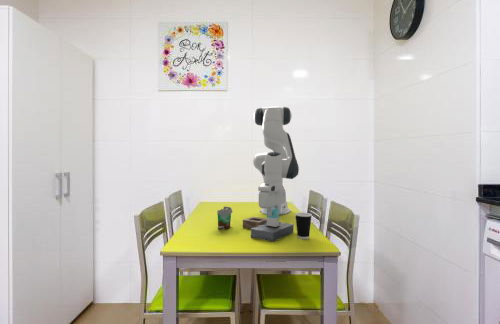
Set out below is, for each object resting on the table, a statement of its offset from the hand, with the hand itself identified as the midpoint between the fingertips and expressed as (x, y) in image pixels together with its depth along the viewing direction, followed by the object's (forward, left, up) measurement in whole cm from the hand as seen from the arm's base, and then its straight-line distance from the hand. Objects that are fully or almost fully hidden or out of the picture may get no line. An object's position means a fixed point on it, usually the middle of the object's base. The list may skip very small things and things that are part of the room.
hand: (273, 214), depth 148 cm
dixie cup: (-4, +14, -10) cm, 18 cm away
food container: (+2, -27, -10) cm, 29 cm away
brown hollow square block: (-8, -15, -10) cm, 20 cm away
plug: (0, 0, -5) cm, 5 cm away
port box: (0, 0, -10) cm, 10 cm away
